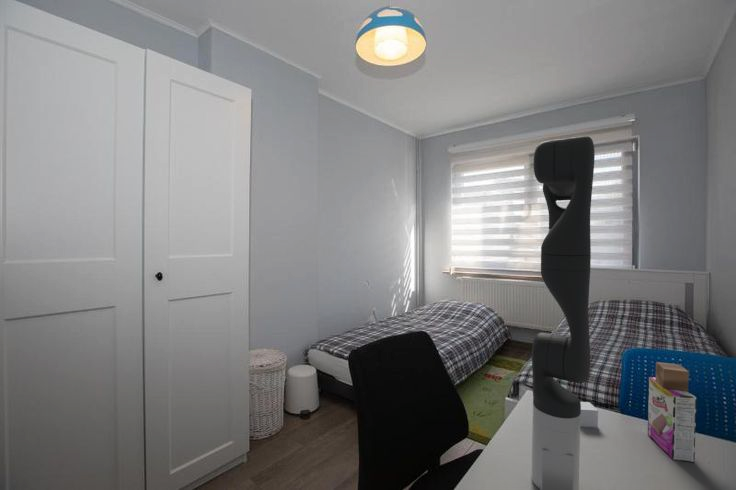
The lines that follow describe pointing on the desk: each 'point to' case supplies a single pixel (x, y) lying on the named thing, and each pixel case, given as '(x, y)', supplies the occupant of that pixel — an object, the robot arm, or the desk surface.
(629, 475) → the desk surface
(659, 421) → the candy bar box
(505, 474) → the desk surface
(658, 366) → the walnut block
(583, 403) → the grey block
